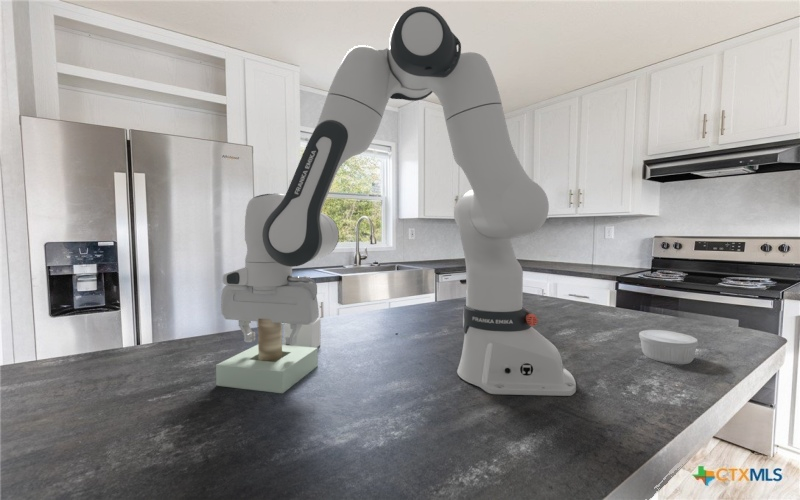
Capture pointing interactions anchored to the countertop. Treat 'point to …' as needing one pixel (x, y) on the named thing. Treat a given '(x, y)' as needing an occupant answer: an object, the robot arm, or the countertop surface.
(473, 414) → the countertop surface
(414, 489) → the countertop surface
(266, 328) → the maple peg
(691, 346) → the ramekin
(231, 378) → the socket block
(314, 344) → the medicine bottle
